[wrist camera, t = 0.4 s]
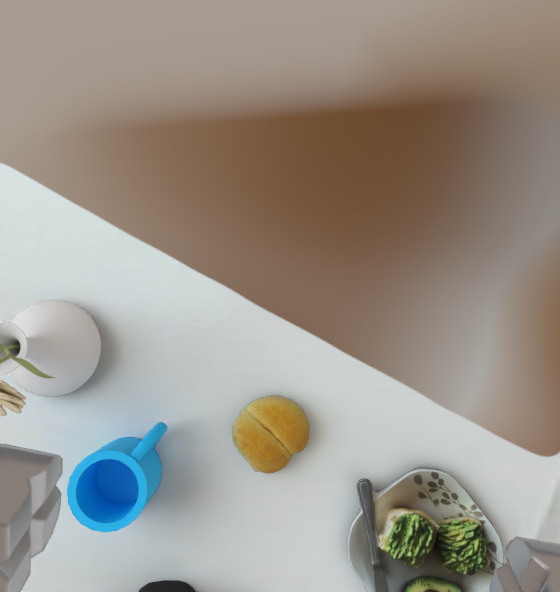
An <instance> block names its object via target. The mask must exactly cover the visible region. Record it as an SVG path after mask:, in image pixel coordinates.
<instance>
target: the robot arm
mask: <svg viewBox="0 0 560 592" xmlns="http://www.w3.org/2000/svg"><path fill="white" fill-rule="evenodd" d="M61 475H62V458H61V457H60V456H59V455H56V454H51V453H46V452H42V451H37V450H32V449H27V448H22V447H17V446H12V445H7V444H0V592H20V591H21V589H22V588H23V586H24V584H25V582H26V581H27V579H28V577H29V575H30V565H31V558H32V557H34V556H36V555H37V554H39V553H40V552H42V551H44V549H45V547H46V545H47V543H48V541H49V539H50V538H51V536H52V533H53V530H54V528H55V525H56V522H57V519H58V516H59V511H60V506H61V492H60V491H59V489H58V488H57V487H56V483H57V481H58V480H59V478H60V476H61ZM505 555H506V557H507V560H508V563H506V564H504V565H503V566H501V567H499V568H498V569H496V570H495V573H494V575H493V577H492V580H491V582H490V588H489V592H560V544H557V543H551V542H545V541H539V540H534V539H528V538H522V537H515V538H514V539H512V540H511V541H510V542H509V544H508V546H507V548H506V550H505Z"/></svg>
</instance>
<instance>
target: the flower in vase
mask: <svg viewBox="0 0 560 592" xmlns="http://www.w3.org/2000/svg"><path fill="white" fill-rule="evenodd" d="M100 354H101V339H100V334H99V331H98V328H97V326H96V324H95V322H94V321H93V319H92V318H91V317H90V316H89V315H88V313H86V312H85V311H84V310H83V309H81V308H80V307H78V306H77V305H74V304H72V303H69V302H66V301H60V300H48V301H43V302H39V303H36V304H34V305H32V306H30V307H28V308H26V309H25V310H23V311H22V312H21V313H20V314H19V315H18V316H16V318H15V319H14V320H13V321H12V322H6V321H0V374H7V373H8V374H9V375H10V377H11V378H12V379H13V380H14V381H15V383H16V384H18V385H19V386H20V387H21V388H22V389H24V390H26V391H27V392H30V393H32V394H35V395H38V396H44V397H55V396H61V395H65V394H68V393H70V392H72V391H74V390H76V389H78V388H79V387H81V386H82V385H83V384H84V383H85V382H86V381H87V380H88V379H89V378H90V377H91V375H92V374H93V372H94V371H95V369H96V367H97V365H98V362H99V359H100ZM22 399H26V397H25V396H24V395H22V394H21V393H19V392H17V390H16V389H14V388H13V387H11V386H9V385H8V384H7V383H6V382H4V381H2V380H0V415H2V416H6V415H7V413H6V411H5V410H4V409H3V408H2V406H4V407H6V408H8V409H10V410H11V411H13V412H16V413H21V410H20V409H19V408H23V406H22V405H26V403H25V402H24V401H23V400H22Z"/></svg>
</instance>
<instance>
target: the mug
mask: <svg viewBox="0 0 560 592" xmlns="http://www.w3.org/2000/svg"><path fill="white" fill-rule="evenodd" d="M166 430H167V426H166V424H165V423H162V422H159V423H158V424H157V425H155V426H154V428H153V429H152V430H151V431H150V432H149V433H148V434H147V435H146V436H145V437H144V439H143V440H141V439H138V438H133V437H126V438H119V439H117V440H115V441H112V442H110V443H108V444H107V445H105V446H104V447H102V448H101V449H99V450H97V451H96V452H94V453H93V454H91V455H89V456H88V457H86V458H85V459H84V460H83V461H82V462H81V463H80V464H78V465H77V467H76V468H75V470H74V472H73V473H72V475H71V477H70V480H69V484H68V488H67V495H68V504H69V506H70V509H71V511H72V514H73V515H74V516H75V517H76V518H77V520H78V521H79V522H80V523H81V524H82V525H84V526H86V527H88V528H89V529H91V530H95V531H100V532H110V531H117V530H119V529H121V528H123V527H125V526H127V525H129V524H130V523H131V522H132V521H133V520H134V519H135V518H136V517H138V515H139V514H140V513H141V511H142V510H143V508H144V507H145V506H146V504H147V503H148V501H149V500H150V499H151V497H152V496H153V494H154V493H155V491H156V489H157V488H158V486H159V484H160V480H161V476H162V467H161V461H160V459H159V456H158V454H157V452H156V451H155V450H154V449H153V448H154V446H155V445H156V444H157V443H158V441H159V440H160V439H161V437H162V436H163V435H164V433H165V432H166Z"/></svg>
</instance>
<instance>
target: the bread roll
mask: <svg viewBox="0 0 560 592" xmlns="http://www.w3.org/2000/svg"><path fill="white" fill-rule="evenodd" d="M232 436H233V441H234V445H235V446H236V447H237V449H238V450H239V452H240V453H241V455H242V456H243V457H244V458H245V459H246V461H247V462H248V463H249V464H250V466H251V467H252V468H253V469H254V471H256V472H264V473H273V472H276V471H279V470H281V469H282V468H284V467H285V466H286V465H287V463H288V462H289V460H290V458H291V456H292V455H293V454H294V453H298V452H300V451H302V450H303V449H304V448H305V447H306V445H307V443H308V439H309V425H308V421H307V418H306V415H305V413H304V411H303V410H302V409H301V408H300V407H299V406H298V405H297V404H296V403H295V402H293V401H291V400H289V399H286V398H284V397H280V396H267V397H262V398H259V399H257V400H255V401H253V402H251V403H250V404H249V405H248V406H247V407H246V408H245V409H244V410H243V411H242V412H241V413H240V415H239V416H238V418H237V419H236V421H235V423H234V426H233V430H232Z"/></svg>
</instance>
